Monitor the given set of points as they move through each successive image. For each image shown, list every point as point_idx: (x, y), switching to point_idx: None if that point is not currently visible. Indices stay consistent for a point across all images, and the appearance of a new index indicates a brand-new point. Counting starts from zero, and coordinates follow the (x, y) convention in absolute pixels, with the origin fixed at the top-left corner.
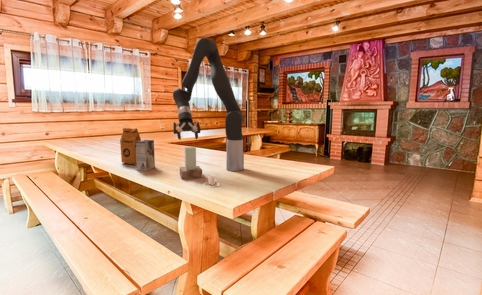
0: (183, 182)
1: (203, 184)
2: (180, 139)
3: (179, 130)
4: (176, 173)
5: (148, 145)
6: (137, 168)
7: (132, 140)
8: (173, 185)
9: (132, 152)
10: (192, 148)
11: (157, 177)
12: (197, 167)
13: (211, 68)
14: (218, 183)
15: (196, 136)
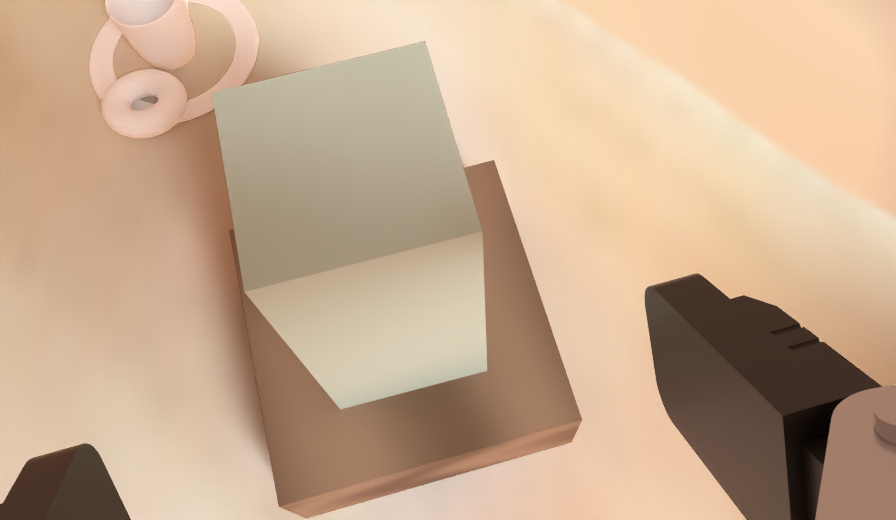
0: (458, 107)
1: (249, 41)
2: (660, 369)
3: (874, 465)
4: (637, 510)
5: None
6: None
7: None
8: (539, 18)
9: None
10: (285, 80)
11: (828, 297)
12: (297, 392)
13: None
14: (100, 73)
15: (53, 456)
